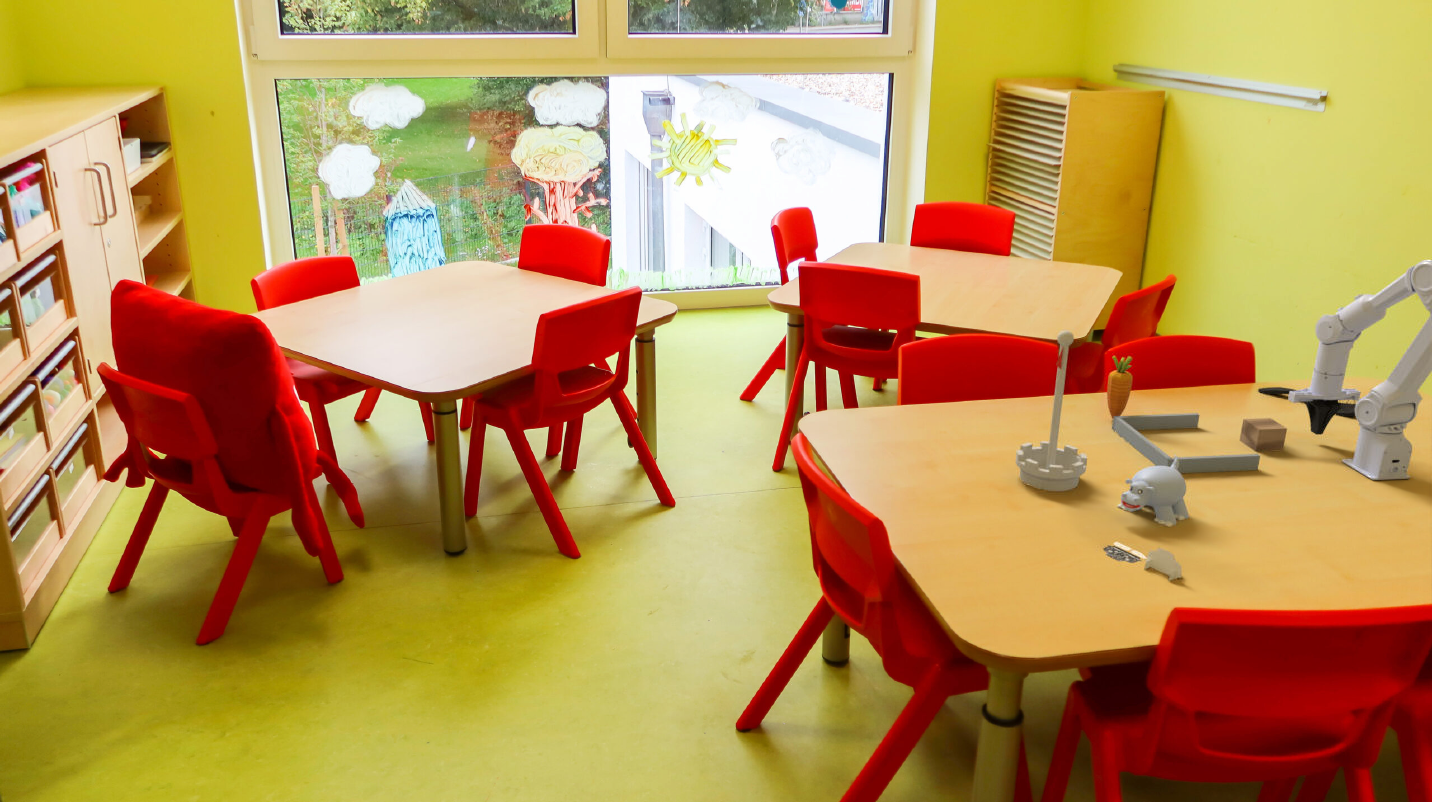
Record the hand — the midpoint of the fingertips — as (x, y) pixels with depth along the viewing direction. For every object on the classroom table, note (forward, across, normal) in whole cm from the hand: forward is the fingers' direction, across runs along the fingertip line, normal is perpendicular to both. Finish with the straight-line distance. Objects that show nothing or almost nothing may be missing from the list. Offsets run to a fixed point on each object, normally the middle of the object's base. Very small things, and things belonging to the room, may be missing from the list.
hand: (1316, 432), depth 231 cm
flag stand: (+2, +63, +12) cm, 64 cm away
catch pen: (+2, +29, 0) cm, 29 cm away
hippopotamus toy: (+2, +51, +29) cm, 59 cm away
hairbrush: (+3, -15, -22) cm, 27 cm away
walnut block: (+2, +12, 0) cm, 12 cm away
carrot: (+3, +36, -17) cm, 40 cm away
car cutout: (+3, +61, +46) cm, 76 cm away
